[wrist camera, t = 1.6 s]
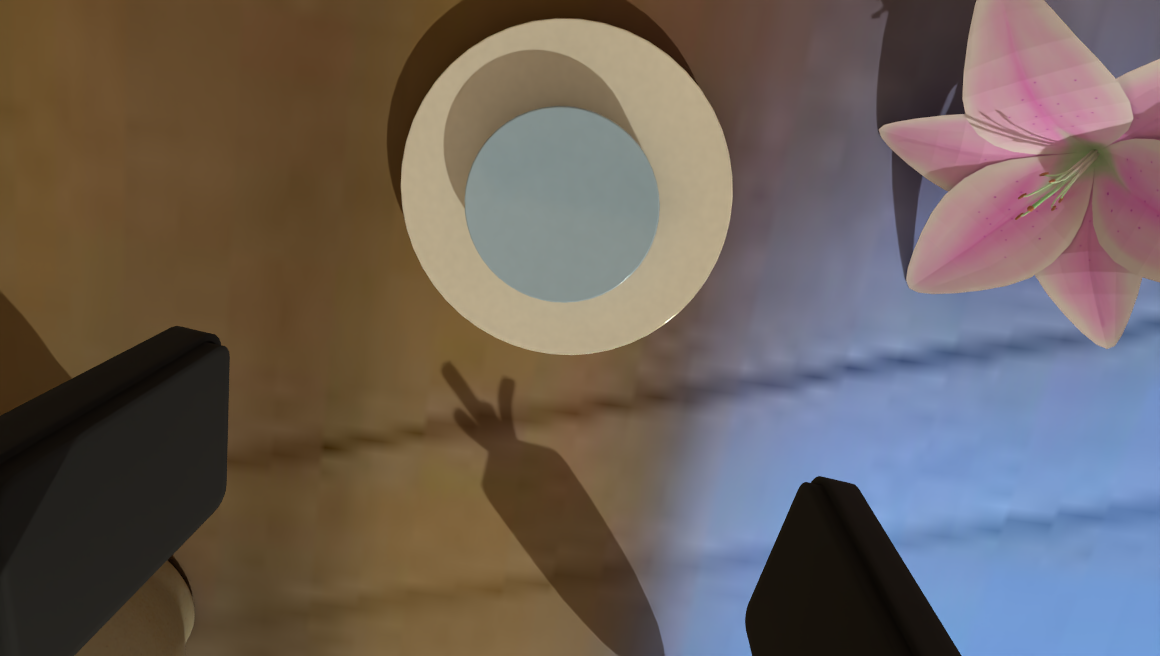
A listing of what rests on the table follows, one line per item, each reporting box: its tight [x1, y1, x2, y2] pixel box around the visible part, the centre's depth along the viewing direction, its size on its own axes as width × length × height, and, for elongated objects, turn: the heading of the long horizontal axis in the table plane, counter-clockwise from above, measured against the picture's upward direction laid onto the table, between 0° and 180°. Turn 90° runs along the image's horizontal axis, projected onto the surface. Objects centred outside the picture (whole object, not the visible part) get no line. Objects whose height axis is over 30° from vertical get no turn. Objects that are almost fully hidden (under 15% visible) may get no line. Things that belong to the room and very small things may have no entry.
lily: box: [879, 0, 1160, 349], centre depth 20 cm, size 12×12×10 cm
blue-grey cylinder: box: [464, 105, 660, 303], centre depth 23 cm, size 7×7×2 cm
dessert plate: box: [401, 18, 733, 355], centre depth 24 cm, size 13×13×1 cm
